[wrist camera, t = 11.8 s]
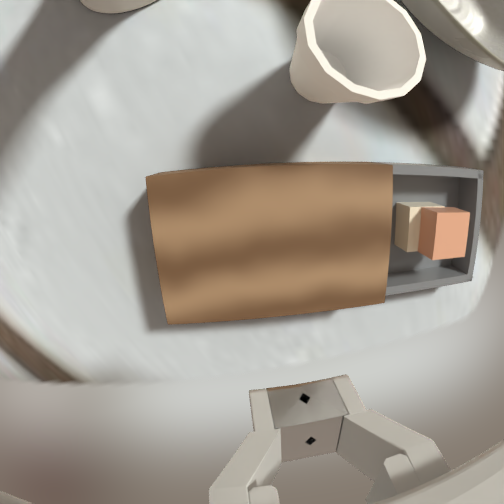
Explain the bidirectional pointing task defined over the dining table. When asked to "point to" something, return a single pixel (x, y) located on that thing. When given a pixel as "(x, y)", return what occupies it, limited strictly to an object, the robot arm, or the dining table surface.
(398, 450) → the robot arm
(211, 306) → the walnut platform
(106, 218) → the dining table surface
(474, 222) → the box
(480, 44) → the decorative bowl
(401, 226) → the cream block
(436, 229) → the salmon orange block
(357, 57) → the foam cup
